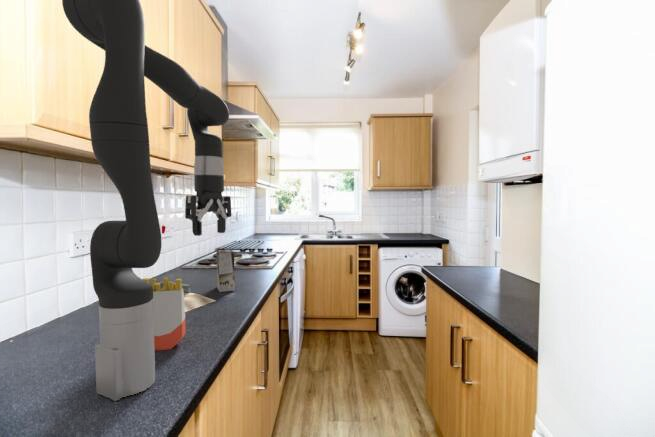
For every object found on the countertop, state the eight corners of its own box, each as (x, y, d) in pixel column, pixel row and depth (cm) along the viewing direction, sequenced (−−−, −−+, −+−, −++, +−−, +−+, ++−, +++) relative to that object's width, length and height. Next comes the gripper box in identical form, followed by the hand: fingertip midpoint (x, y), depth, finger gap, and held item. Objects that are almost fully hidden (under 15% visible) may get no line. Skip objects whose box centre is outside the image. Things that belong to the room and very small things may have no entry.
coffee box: (235, 290, 135) (234, 252, 135) (219, 292, 133) (218, 253, 132) (231, 285, 144) (231, 249, 143) (216, 286, 141) (215, 249, 140)
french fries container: (141, 344, 85) (139, 275, 84) (186, 340, 87) (184, 273, 86) (134, 352, 80) (133, 279, 79) (182, 348, 83) (181, 277, 82)
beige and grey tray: (171, 321, 103) (171, 305, 103) (115, 308, 116) (115, 293, 115) (218, 303, 122) (218, 289, 121) (165, 293, 134) (165, 281, 134)
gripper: (198, 171, 81) (199, 237, 82) (237, 175, 93) (238, 232, 94) (177, 172, 84) (178, 235, 85) (217, 176, 97) (218, 231, 98)
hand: (210, 234), depth 90 cm, fingers open, 8 cm apart
